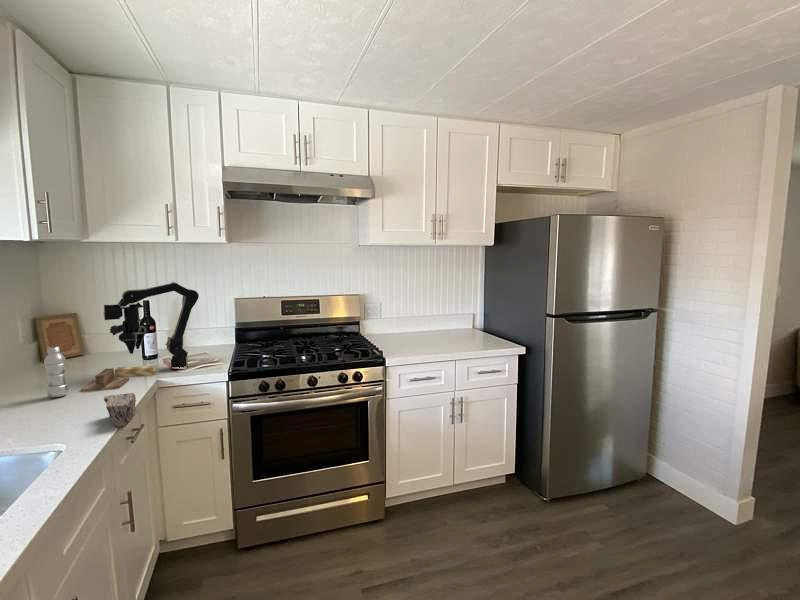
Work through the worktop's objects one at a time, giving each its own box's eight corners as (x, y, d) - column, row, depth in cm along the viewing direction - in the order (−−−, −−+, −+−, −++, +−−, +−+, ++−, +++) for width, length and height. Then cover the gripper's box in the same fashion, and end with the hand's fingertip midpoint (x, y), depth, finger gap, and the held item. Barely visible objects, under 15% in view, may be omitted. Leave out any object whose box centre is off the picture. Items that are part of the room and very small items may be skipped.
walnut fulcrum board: (129, 380, 188) (128, 366, 187) (119, 388, 176) (118, 374, 176) (92, 382, 184) (91, 369, 183) (80, 391, 172) (79, 377, 172)
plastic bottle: (47, 396, 167) (41, 347, 165) (68, 392, 172) (63, 344, 169) (47, 400, 162) (41, 350, 160) (69, 396, 167) (64, 347, 164)
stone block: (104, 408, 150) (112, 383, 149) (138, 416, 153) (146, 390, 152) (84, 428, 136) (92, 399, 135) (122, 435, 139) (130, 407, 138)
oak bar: (157, 373, 198) (156, 365, 198) (154, 376, 195) (153, 367, 194) (119, 375, 195) (118, 367, 194) (115, 378, 191) (114, 370, 190)
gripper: (118, 315, 198) (121, 347, 200) (103, 322, 180) (106, 357, 182) (145, 314, 201) (148, 346, 203) (132, 320, 183) (136, 355, 185)
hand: (134, 351), depth 193 cm, fingers open, 9 cm apart
